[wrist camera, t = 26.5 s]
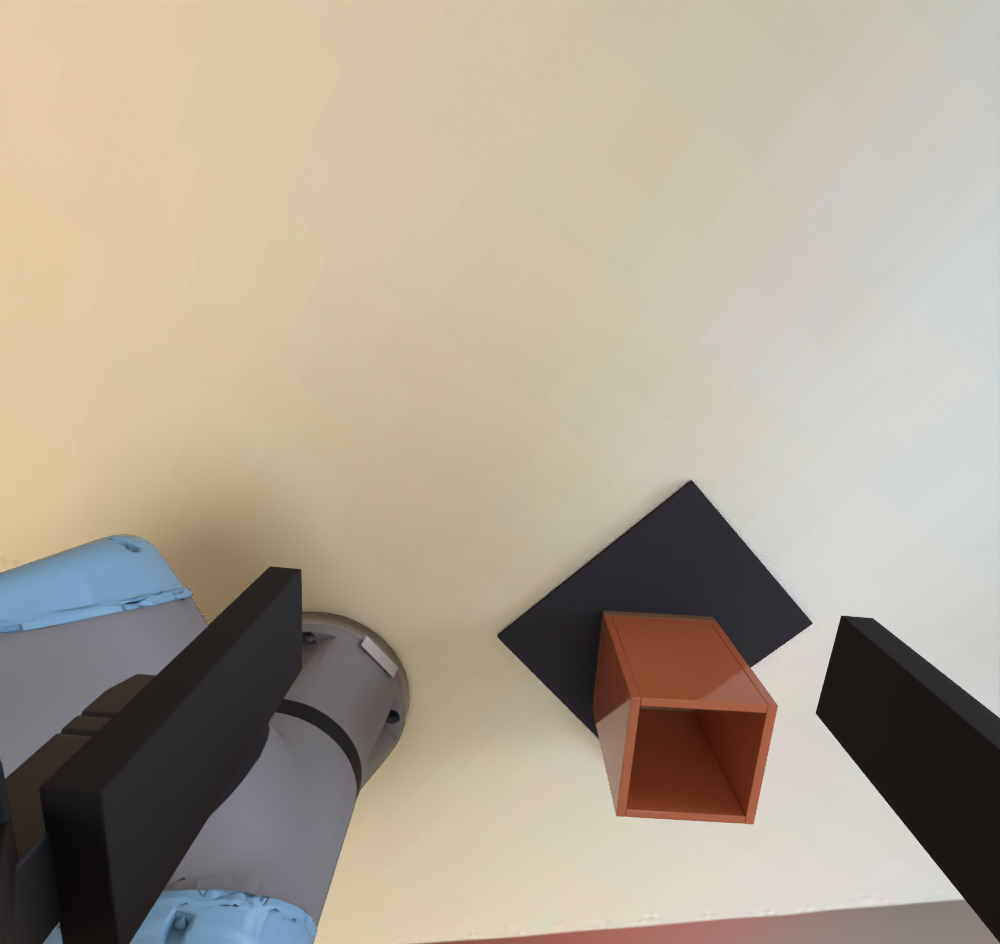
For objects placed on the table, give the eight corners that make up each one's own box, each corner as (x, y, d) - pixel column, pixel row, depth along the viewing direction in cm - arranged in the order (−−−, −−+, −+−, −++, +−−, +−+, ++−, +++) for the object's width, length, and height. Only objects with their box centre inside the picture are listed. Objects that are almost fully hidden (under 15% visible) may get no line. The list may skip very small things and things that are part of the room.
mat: (619, 757, 48) (620, 760, 48) (497, 634, 45) (497, 637, 45) (810, 621, 44) (813, 623, 44) (691, 479, 42) (692, 481, 41)
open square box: (591, 705, 46) (601, 609, 44) (697, 711, 46) (713, 616, 44) (616, 816, 36) (631, 697, 33) (753, 824, 36) (778, 705, 33)
